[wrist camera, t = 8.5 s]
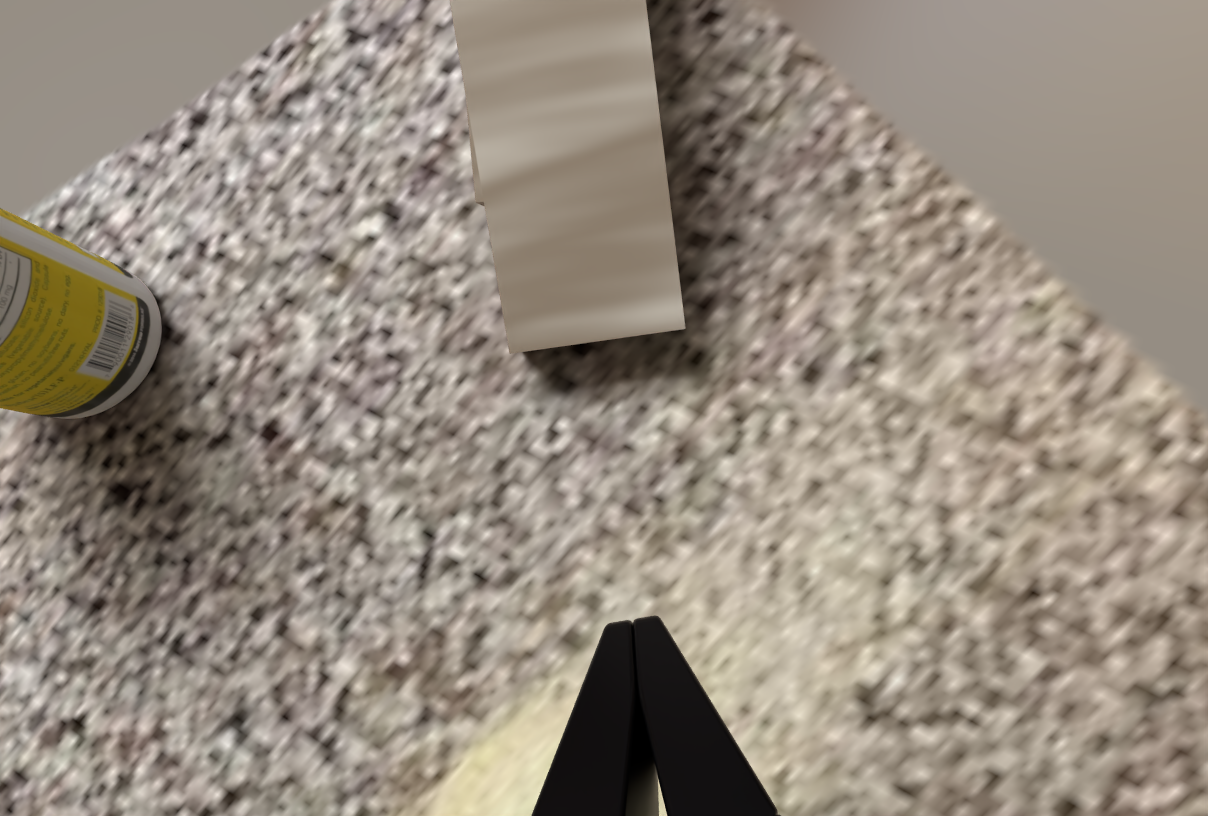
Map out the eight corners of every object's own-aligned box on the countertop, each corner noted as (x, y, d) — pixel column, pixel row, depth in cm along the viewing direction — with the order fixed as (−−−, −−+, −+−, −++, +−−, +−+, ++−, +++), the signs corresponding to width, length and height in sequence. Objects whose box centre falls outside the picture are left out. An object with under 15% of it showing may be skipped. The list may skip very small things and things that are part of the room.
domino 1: (685, 328, 17) (637, -71, 15) (510, 353, 17) (444, -32, 16) (681, 326, 18) (637, -36, 17) (520, 348, 19) (462, -2, 17)
